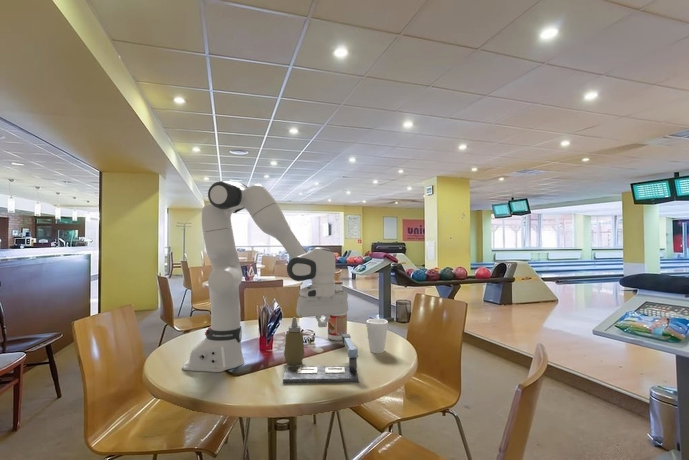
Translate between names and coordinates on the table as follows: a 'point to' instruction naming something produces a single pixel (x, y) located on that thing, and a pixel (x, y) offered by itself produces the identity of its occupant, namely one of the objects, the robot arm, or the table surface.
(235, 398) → the table surface
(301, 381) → the switch panel
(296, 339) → the squeeze bottle
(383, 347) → the foam cup
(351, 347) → the swing arm
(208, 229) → the robot arm
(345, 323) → the fruit juice
